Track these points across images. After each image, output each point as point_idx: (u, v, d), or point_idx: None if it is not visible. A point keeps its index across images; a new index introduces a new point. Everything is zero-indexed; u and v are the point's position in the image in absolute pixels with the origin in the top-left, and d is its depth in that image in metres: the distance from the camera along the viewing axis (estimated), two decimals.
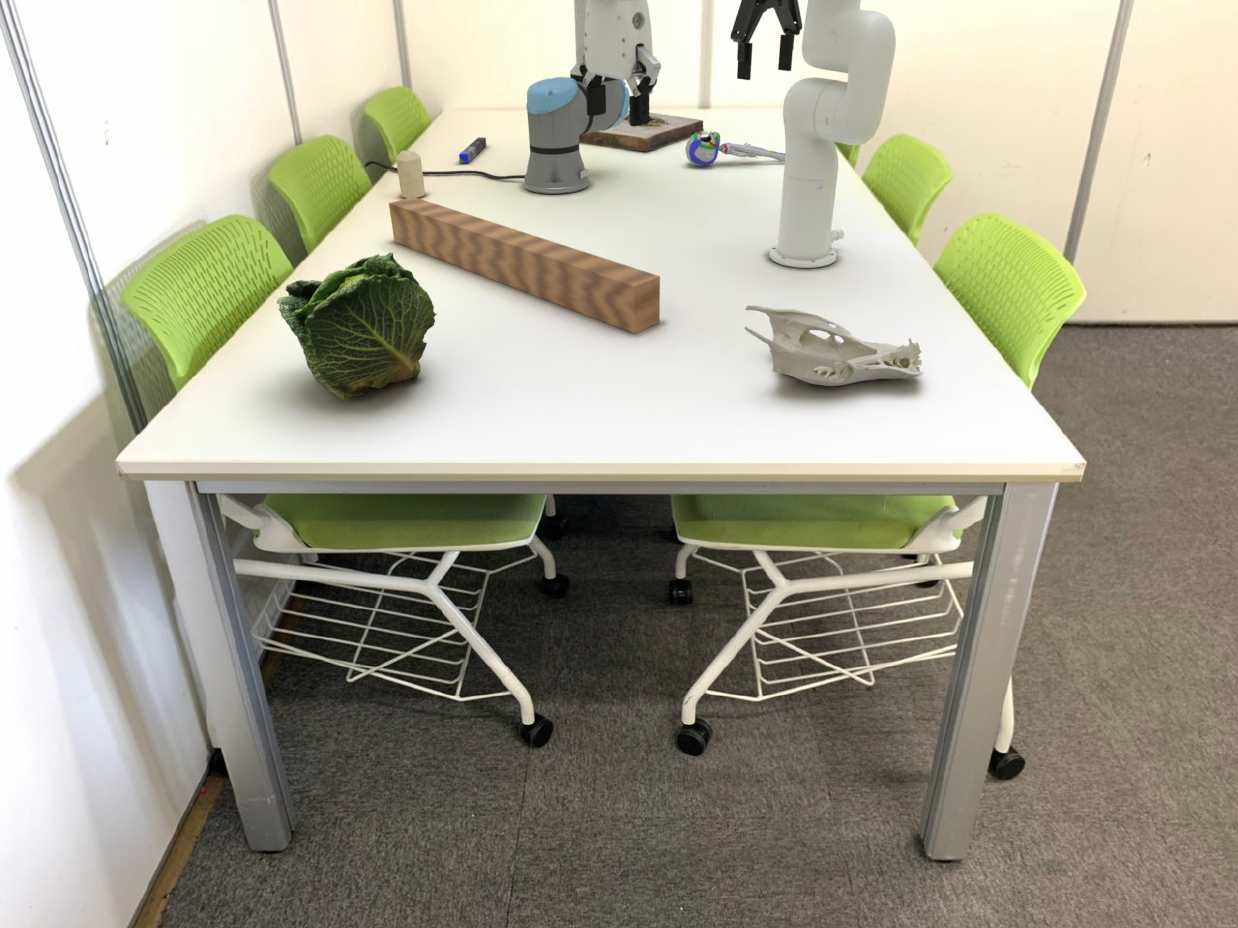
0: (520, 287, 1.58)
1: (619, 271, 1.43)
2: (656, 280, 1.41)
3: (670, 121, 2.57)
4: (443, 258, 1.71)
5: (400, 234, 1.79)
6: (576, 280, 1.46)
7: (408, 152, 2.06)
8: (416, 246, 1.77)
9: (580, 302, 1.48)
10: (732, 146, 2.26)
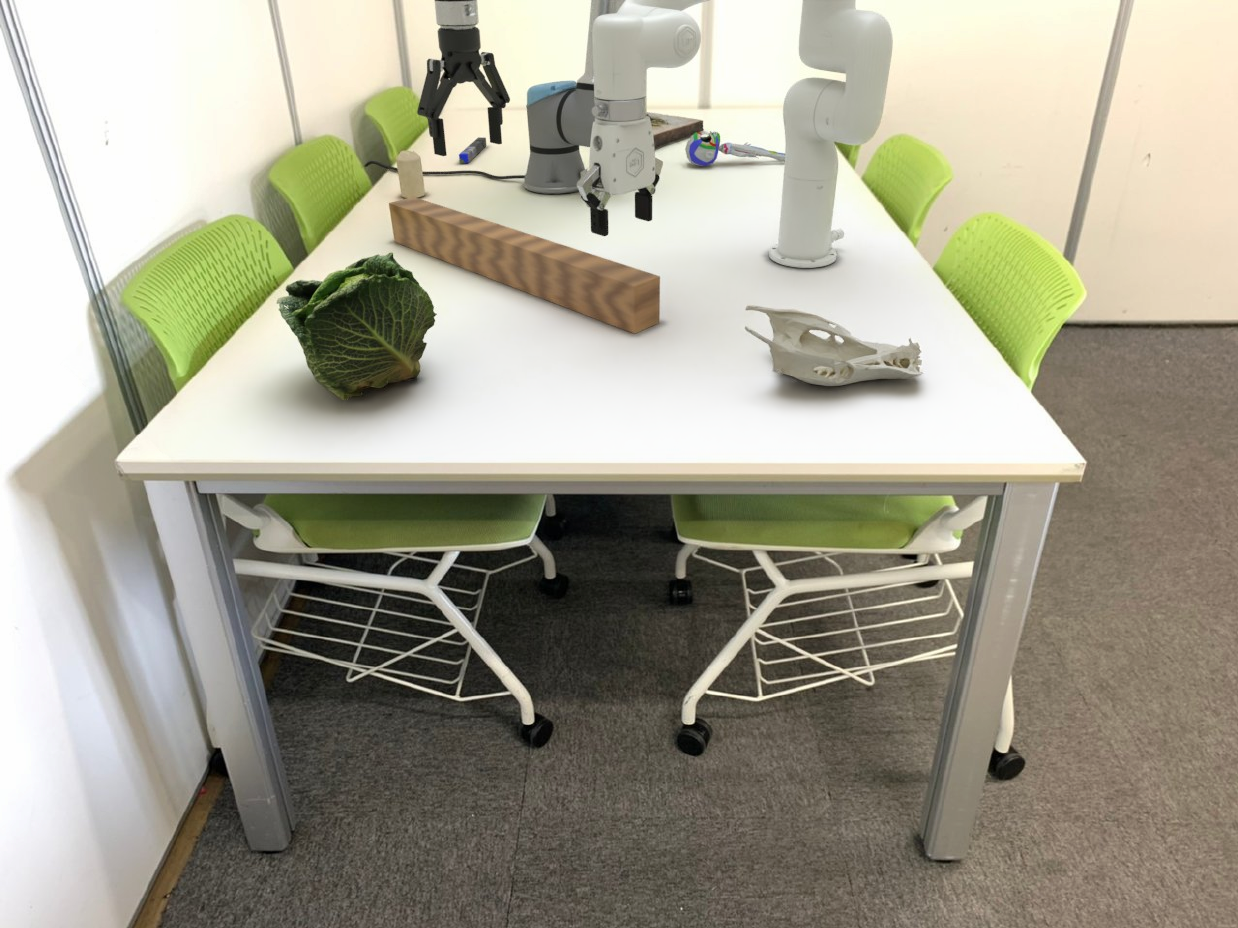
0: (520, 287, 1.58)
1: (619, 271, 1.43)
2: (656, 280, 1.41)
3: (670, 121, 2.57)
4: (443, 258, 1.71)
5: (400, 234, 1.79)
6: (576, 280, 1.46)
7: (408, 152, 2.06)
8: (416, 246, 1.77)
9: (580, 302, 1.48)
10: (732, 146, 2.26)
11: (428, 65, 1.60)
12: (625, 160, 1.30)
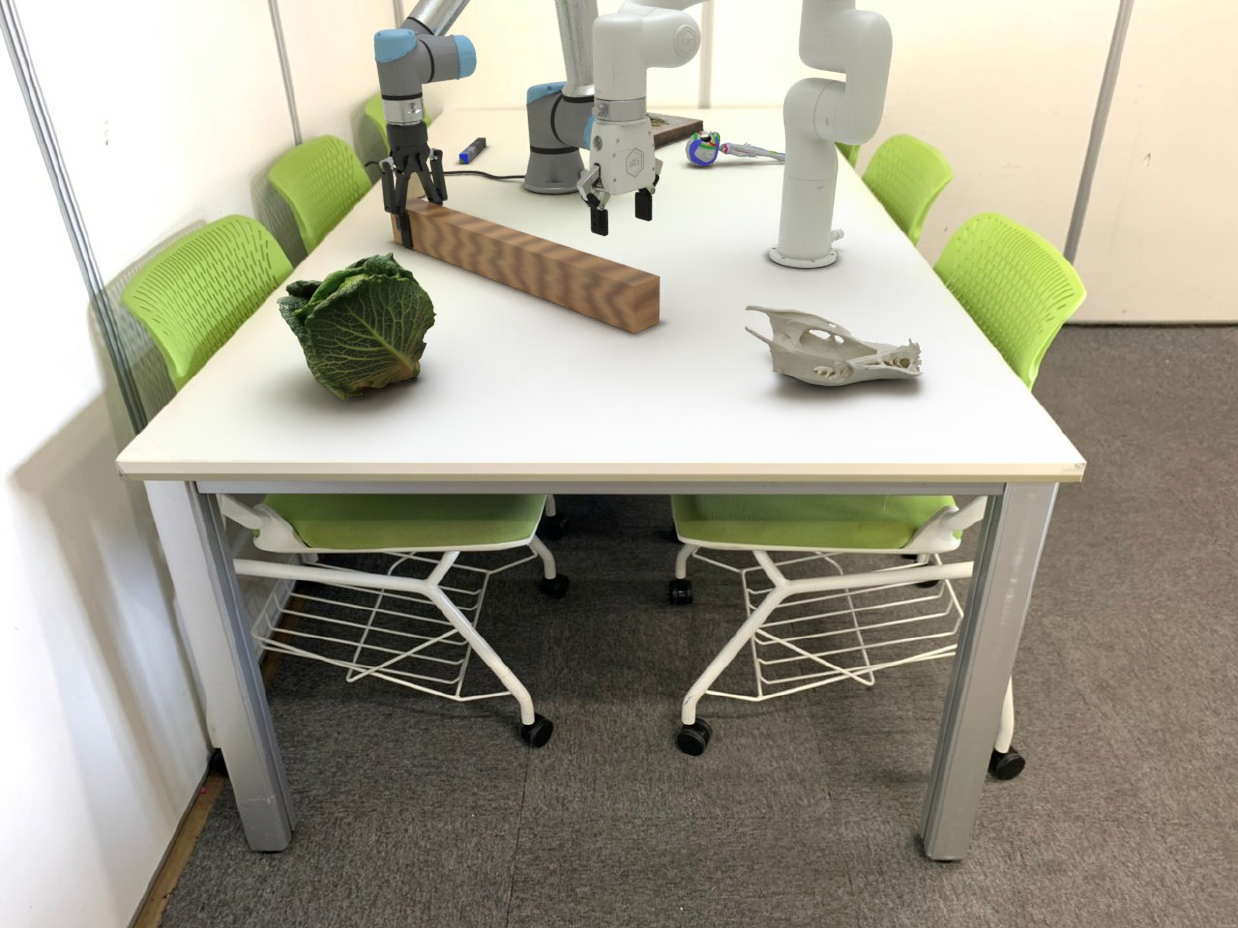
0: (520, 287, 1.58)
1: (619, 271, 1.43)
2: (656, 280, 1.41)
3: (670, 121, 2.57)
4: (443, 258, 1.71)
5: (400, 234, 1.79)
6: (576, 280, 1.46)
7: None
8: (416, 246, 1.77)
9: (580, 302, 1.48)
10: (732, 146, 2.26)
11: (379, 167, 1.68)
12: (625, 160, 1.30)
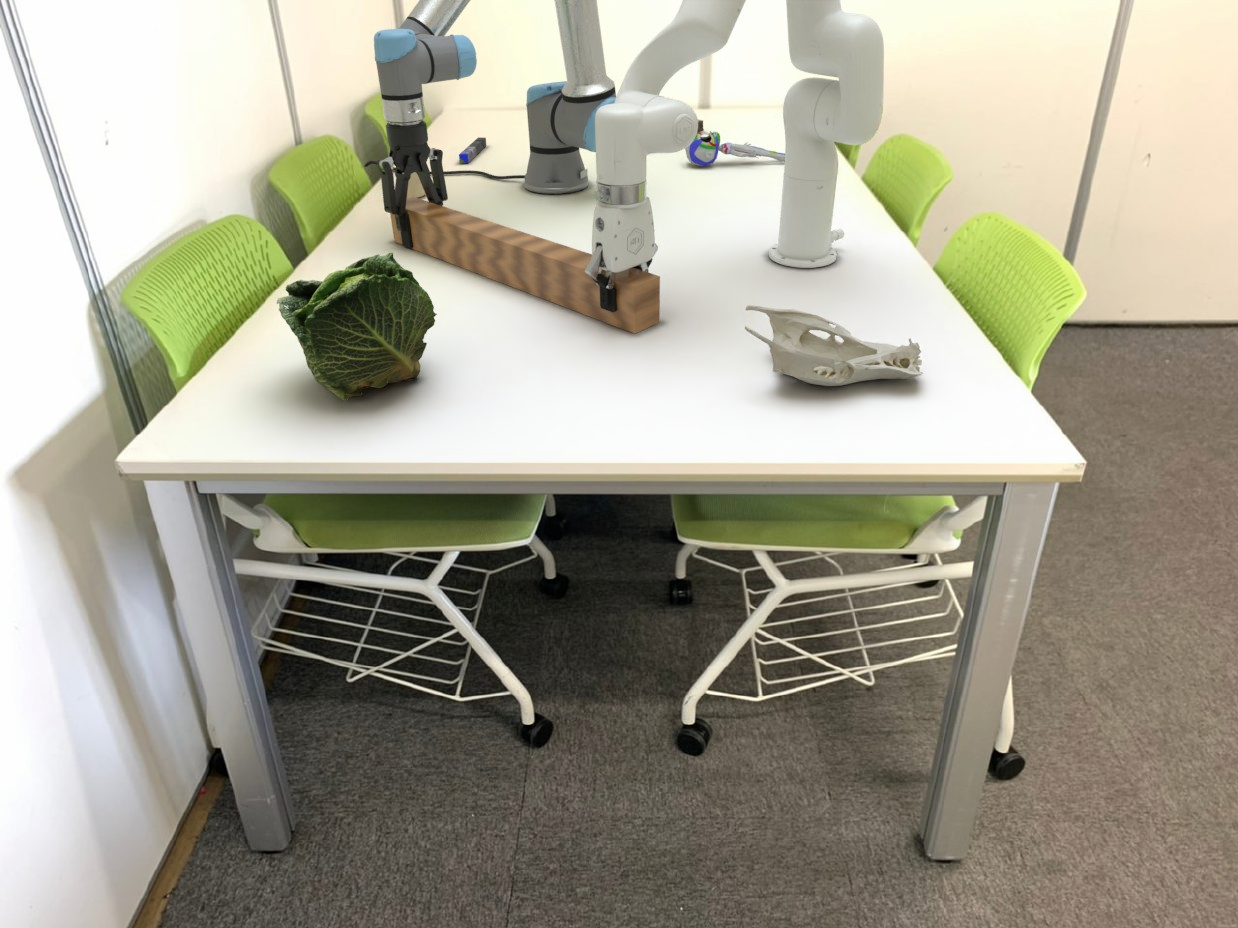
0: (520, 287, 1.58)
1: None
2: (656, 280, 1.41)
3: None
4: (443, 258, 1.71)
5: (400, 234, 1.79)
6: (576, 280, 1.46)
7: None
8: (416, 246, 1.77)
9: (580, 302, 1.48)
10: (732, 146, 2.26)
11: (379, 167, 1.68)
12: (626, 240, 1.36)
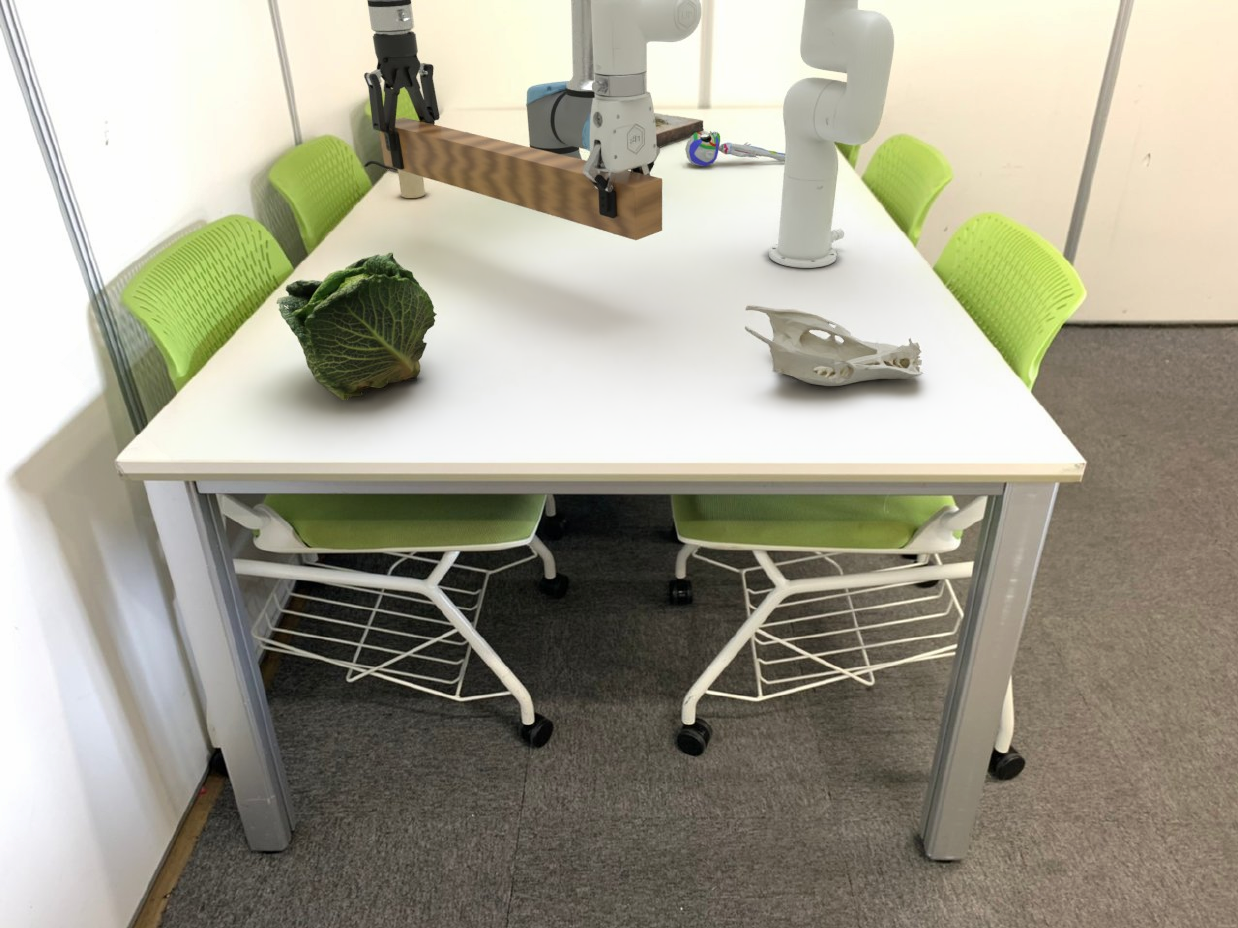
0: (515, 201, 1.50)
1: (619, 175, 1.35)
2: (658, 182, 1.33)
3: (670, 121, 2.57)
4: (435, 177, 1.63)
5: None
6: (573, 187, 1.39)
7: None
8: (407, 168, 1.69)
9: (578, 211, 1.40)
10: (732, 146, 2.26)
11: (366, 80, 1.60)
12: (626, 136, 1.28)
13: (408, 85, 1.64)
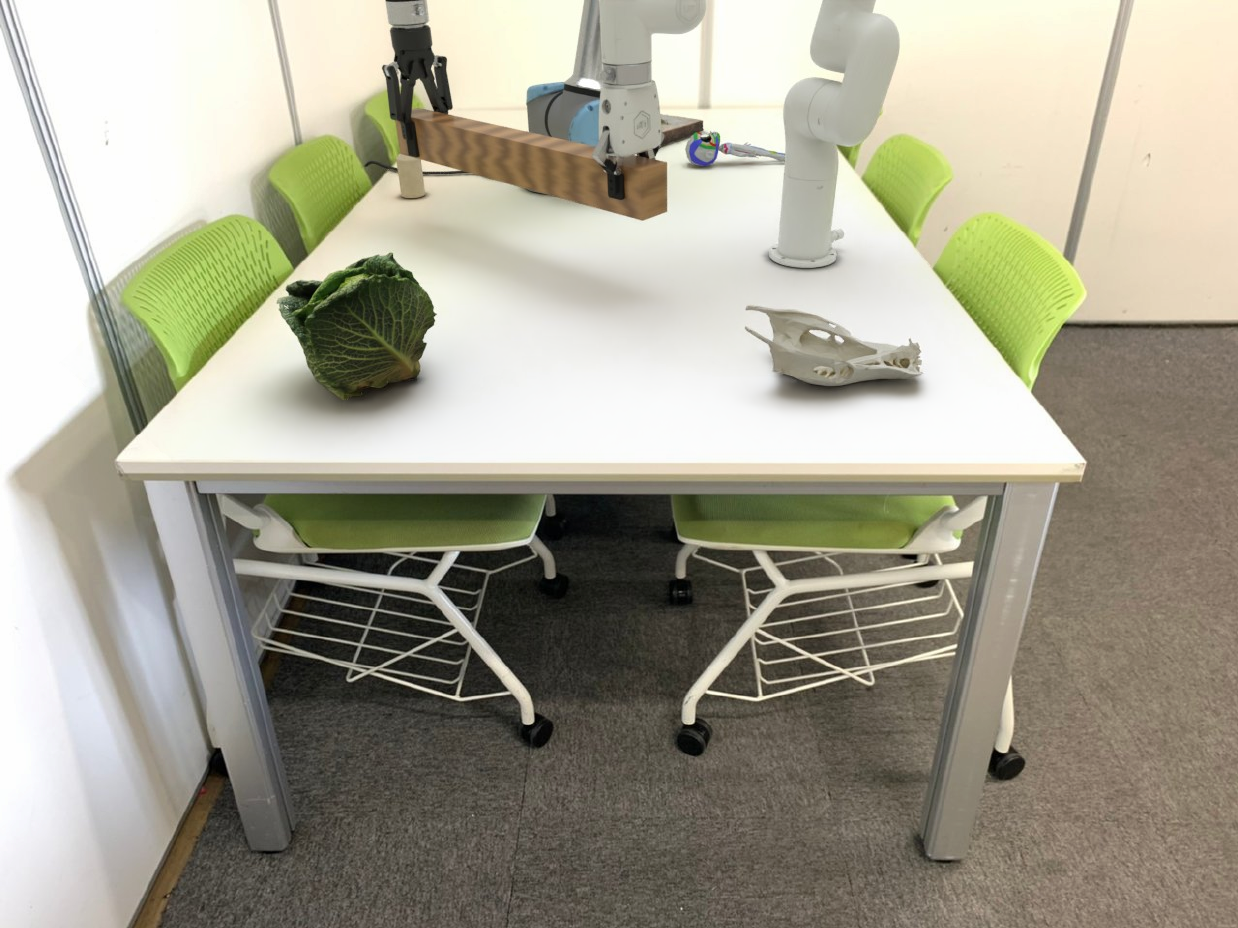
0: (527, 186, 1.58)
1: (626, 159, 1.43)
2: (663, 166, 1.41)
3: (670, 121, 2.57)
4: (450, 165, 1.72)
5: (406, 145, 1.79)
6: (583, 171, 1.47)
7: None
8: (422, 156, 1.77)
9: (588, 194, 1.48)
10: (732, 146, 2.26)
11: (384, 72, 1.68)
12: (633, 122, 1.36)
13: (423, 76, 1.72)
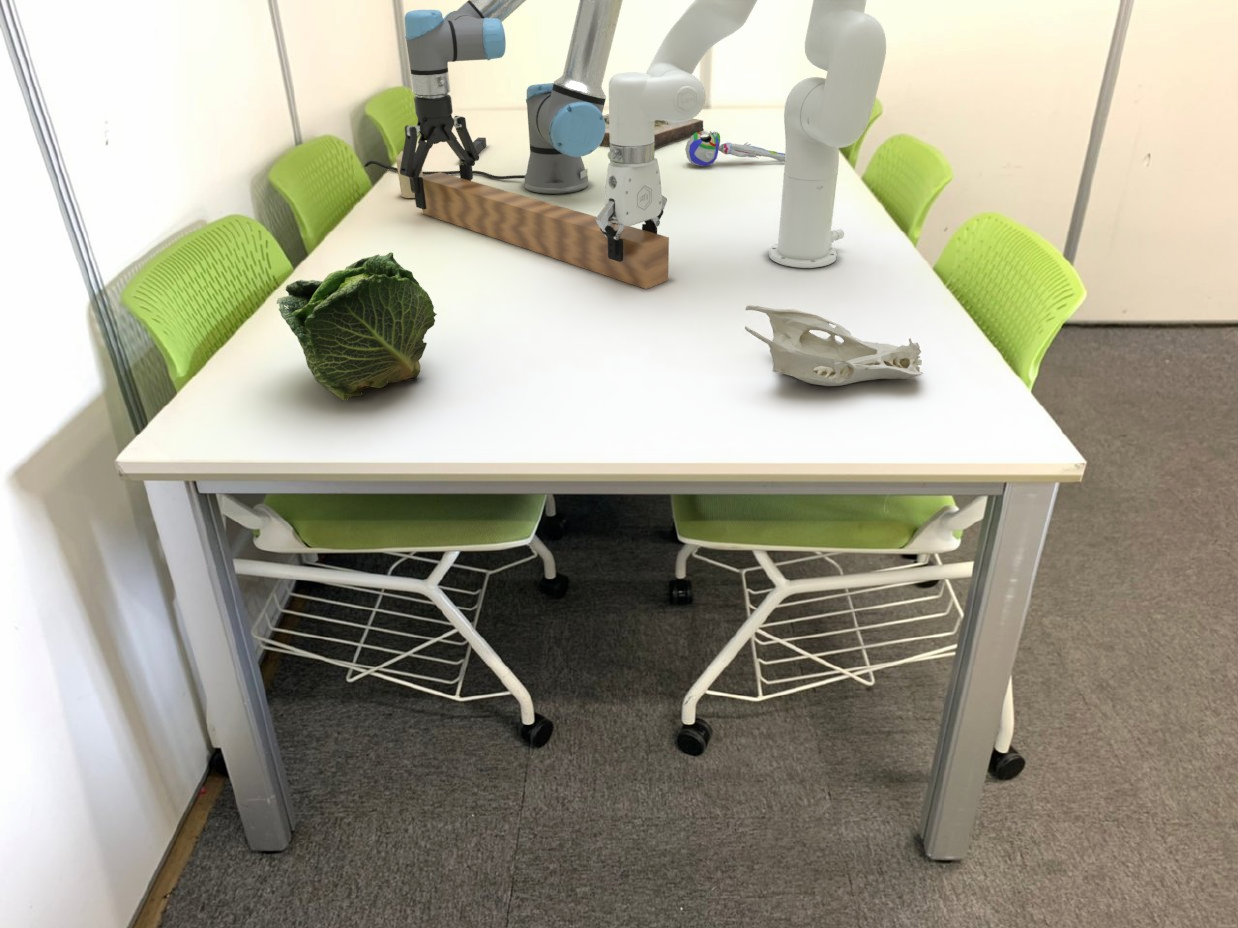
0: (541, 251, 1.74)
1: (632, 233, 1.59)
2: (665, 241, 1.57)
3: (670, 121, 2.57)
4: (469, 227, 1.87)
5: (428, 206, 1.95)
6: (593, 242, 1.62)
7: None
8: (443, 217, 1.92)
9: (596, 262, 1.64)
10: (732, 146, 2.26)
11: (406, 131, 1.82)
12: (636, 196, 1.51)
13: (443, 140, 1.87)
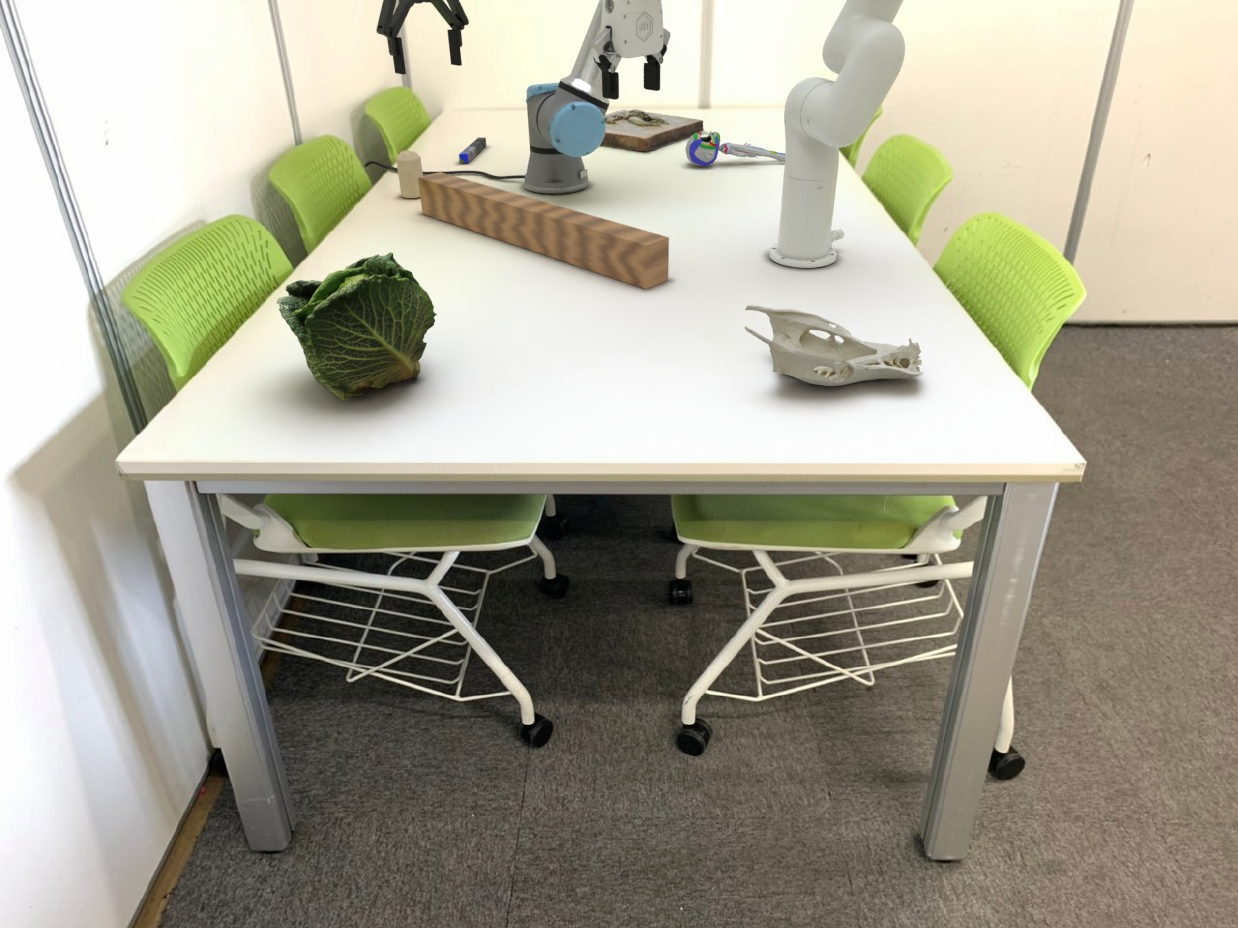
0: (541, 251, 1.74)
1: (632, 233, 1.59)
2: (665, 241, 1.57)
3: (670, 121, 2.57)
4: (469, 227, 1.87)
5: (428, 206, 1.95)
6: (593, 242, 1.62)
7: (408, 152, 2.06)
8: (443, 217, 1.92)
9: (596, 262, 1.64)
10: (732, 146, 2.26)
11: None
12: (635, 23, 1.37)
13: (427, 0, 1.74)
